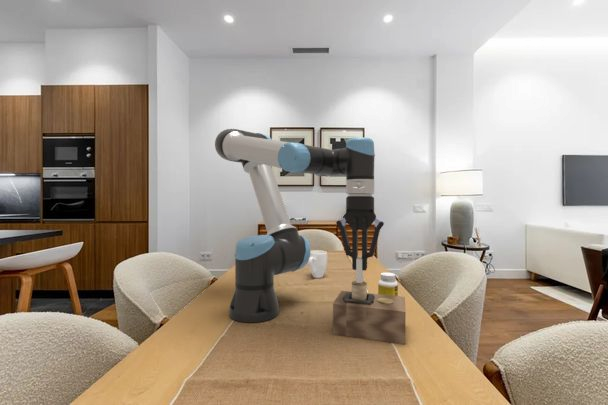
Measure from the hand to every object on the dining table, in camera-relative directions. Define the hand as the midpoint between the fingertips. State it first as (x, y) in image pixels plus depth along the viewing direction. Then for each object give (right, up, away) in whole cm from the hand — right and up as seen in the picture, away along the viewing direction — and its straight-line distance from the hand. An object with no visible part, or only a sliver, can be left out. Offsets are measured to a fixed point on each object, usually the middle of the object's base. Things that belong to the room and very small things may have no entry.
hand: (359, 281), depth 84 cm
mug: (-10, -12, +54) cm, 56 cm away
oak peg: (0, -9, 0) cm, 9 cm away
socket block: (+3, -13, -1) cm, 13 cm away
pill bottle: (+12, -13, +16) cm, 24 cm away
